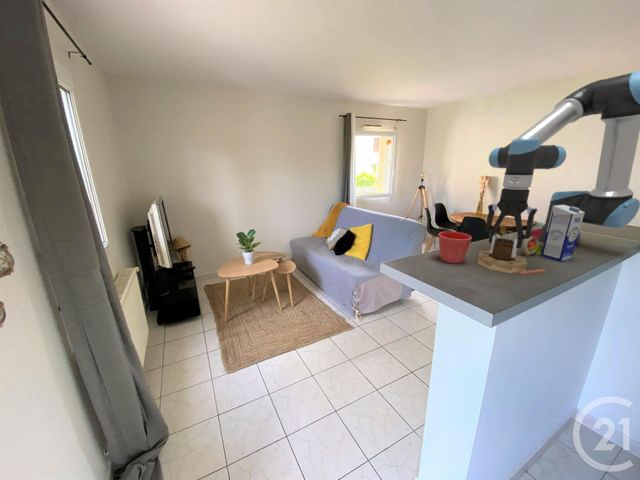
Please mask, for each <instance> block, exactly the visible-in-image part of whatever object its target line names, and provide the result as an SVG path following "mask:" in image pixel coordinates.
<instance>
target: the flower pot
mask: <svg viewBox="0 0 640 480" xmlns="http://www.w3.org/2000/svg"><path fill="white" fill-rule="evenodd" d="M472 237H473V236H472V235H470V234H468V233H464V232H459V231H449V230H448V231H441V232H439V233H438V247H439V256H440V260H441V261H444V262H447V263H451V264H459V263H463V262H464V258H465V256H466V254H467V252H468V249H469V248H470V244H471V242H472V240H473V238H472Z"/></svg>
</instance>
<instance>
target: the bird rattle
mask: <svg viewBox="0 0 640 480" xmlns="http://www.w3.org/2000/svg"><path fill="white" fill-rule="evenodd" d="M541 229H542V228H535V229H534V228H532V233H531V237H530V238H529V239H523V242H522V247H521V249H522V251H523V252H524V255H525V256H530V255H533V254H535V255H537V256H541V252H542V248H543V244H544V243H539V242H540V241H539V240H538V239H537V236H540V235H542V234H543V232H541Z"/></svg>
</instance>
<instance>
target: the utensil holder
mask: <svg viewBox="0 0 640 480" xmlns="http://www.w3.org/2000/svg"><path fill="white" fill-rule="evenodd" d="M506 227H507V225H506V224H502V223H501V224H500V229H499V230H500V234H501V238H497V240H496V244H495V245H494V247H493V252H492V258H493V259H496V260H501V261H511V259H512V257H511V255H512V250H513V246H514V241H513V240H512V239H510V238H504V237H505V236H506V231H507V230H506ZM511 233H512V234H511ZM511 236H513V231H511V230H509V236H508V237H511Z"/></svg>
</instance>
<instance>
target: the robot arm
mask: <svg viewBox="0 0 640 480" xmlns="http://www.w3.org/2000/svg"><path fill="white" fill-rule="evenodd" d="M594 115H600V121H602V122H603V123H604V124H605V125H604V131H603V140H602V145H601V151H600V157H599V163H598V169H597V176H596V182H595V188H594V189H592V190H590V191H589V190H568V191H565V190H563V191H555V192H553V193H552V195H551V199H550V200H549V204H548V210H547V215H546V219H545V223H544V225H543V226H542V227H541V228H540V229H541V232H543V234H542V235H540V236H537V239H538V241H539V242H542V243H544V240H545V236H546V232H547V228H548V224H549V220H550V216H551V212H552V208H553V206H556V205H566V206H570V207H571V206H574V207H577V208H579V209H580V211H583V212H585V213H584V217H583V220H582V223H583V224H588V225H594V226H600V227H604V228H613V229H620V228H623V227H625V226H627V225H628V224H630V222H632V220H633V219H634V218H636V215H638V212H639V210H640V199H637V198H635V197H634V191H633V190H631V189H630V188H629V187H630V186H629V185H630V181H631V178H632V177H631V176H632V171H633V166H634V161H635V155H636V151H637V146H638V141H639V138H640V70H636V71H633V72H630V73H626V74H621V75H617V76H612V77H607V78H602V79H599V80H595V81H593V82H590V83H588V84H585V85H584V86H581V87H580V88H578V89H576V90H575V91H573V92H572V93H570V94H568V95H567V96H566V97H564V98H563V99H561V100H560V101H558V102H557V104H556V105H555V106H554V109H553V110H551V111H550V112H549V113H547V114H546V115H545V116H543V117H542V118H541V119H540V120H539V121H537V122H536V123H535V124H533V125H532V126H530V127H529V128H528V129H526V131H525V130H524V132H523V133H522V134H520V135H519V136H518V137H517V138H514V139H513V140H511V142H510V143H509V144H507V145H506V146H504V147H503V146H501V147H496V148H494V149H492V150H491V152H490V153H489V155H488V163H489V165H490V167H492V168H494V169H505V172H504V177H503V181H502V187H503V188H502V189H501V193H500V197H499V201H498V202H497V203H494V204H493V203H492V204H488V206H487V208H488V214H487V219H486V224H485V227H484V232H485V233H487V234H489V237H488V244H491V245H490V249H489V251H490V253H492V252H493V247H494V245H495V244H496V240H497V239H498V236H499V234H496V233H497V232H498V229H499V228H500V227H501V224H502V223H503V221H504V219H505V217H509V216H510V217H512V218H513V217H514V222H515V229H516V233H517V237H516V238H515V239H514V241H513V242H514V245H513V250H512V255H511V257H512V258H514V257H515V256H516V255H517V251H518V250H519V249H522V244H523V241H524V240H525V239H529V238H530V237H531V233H532V229H533V227H534V226H533V224H534V221H535V219H534V218H535V215H536V213H537V212H538V208H536V207H535V208H533V207H530V206H529V204H528V200H529V195H530V189H529V188H531V186H532V182H533V178H534V177H533V176H534V171H535V170H551V169H556V168H559V167H560V166H561V165H562V164H563V163H564V162H565V160H566V158H567V151H566V149H565V148H564V147H563V146H561V145H556V144H547V145H546V144H545V145H544V143H545V142H547V141H548V140H549V139H550V138H553V136H554V135H556V134H557V133H558V132H560V131H561V130H562V129H563V128H565V127H566V126H567V125H569V124H572V123H575V122H576V121H579V119H581V118H584V117H589V116H594ZM633 197H634V198H633ZM497 208H498V210H499V211H500V213H499V215H498V218H497V219H496V221H495V223H494V225H493V226H492V223H493V221H494V215H495V211H496V210H497ZM525 211H527V215H528V216H527V220H526V221H527V222H526V228H525V234H524V229H523V223H522V213H524V212H525ZM581 242H582V235H581V230H580V231H579V234H578V238H577V241H576V245H575V247H579V246H580V245H581Z"/></svg>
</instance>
